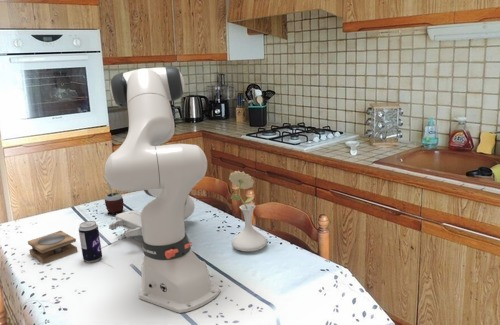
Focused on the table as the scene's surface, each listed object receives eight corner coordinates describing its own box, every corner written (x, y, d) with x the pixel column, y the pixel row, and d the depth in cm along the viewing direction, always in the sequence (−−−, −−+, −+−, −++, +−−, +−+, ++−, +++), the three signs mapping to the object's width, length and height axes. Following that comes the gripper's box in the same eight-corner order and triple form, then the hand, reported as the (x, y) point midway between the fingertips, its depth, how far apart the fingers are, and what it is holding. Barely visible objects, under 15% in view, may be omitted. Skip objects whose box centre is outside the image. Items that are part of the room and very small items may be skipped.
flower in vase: (274, 245, 145) (271, 170, 139) (250, 258, 137) (246, 179, 131) (245, 235, 154) (241, 164, 148) (221, 247, 146) (215, 172, 140)
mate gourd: (121, 216, 178) (117, 180, 174) (102, 217, 178) (96, 180, 174) (127, 209, 185) (122, 174, 181) (108, 210, 185) (103, 175, 182)
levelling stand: (77, 251, 148) (75, 237, 147) (43, 264, 141) (41, 249, 139) (62, 242, 156) (60, 229, 154) (30, 254, 148) (27, 240, 147)
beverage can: (96, 264, 139) (91, 227, 136) (79, 263, 140) (74, 227, 137) (105, 255, 144) (100, 220, 141) (89, 255, 145) (84, 220, 142)
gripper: (135, 203, 163) (100, 214, 153) (169, 216, 149) (133, 229, 139) (137, 220, 164) (103, 232, 155) (171, 233, 150) (135, 248, 141)
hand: (117, 230), depth 147 cm, fingers open, 8 cm apart
